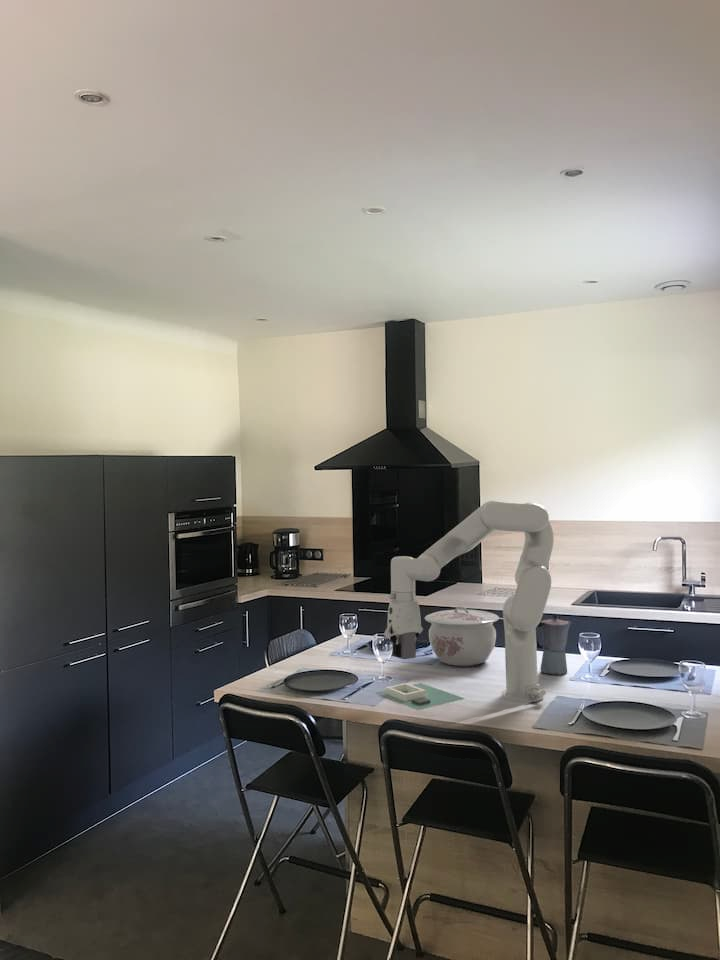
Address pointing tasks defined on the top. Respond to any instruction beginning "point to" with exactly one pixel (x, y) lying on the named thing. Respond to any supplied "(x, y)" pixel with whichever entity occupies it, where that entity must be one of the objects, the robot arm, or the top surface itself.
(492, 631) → the chamber pot
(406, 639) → the plug
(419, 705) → the board
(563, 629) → the moka pot
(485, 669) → the top surface
